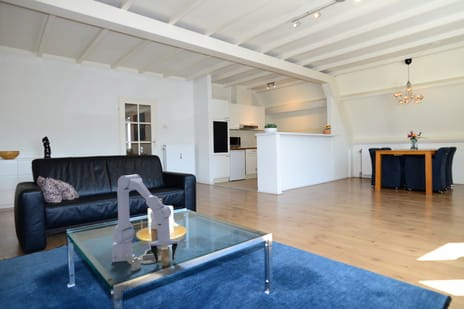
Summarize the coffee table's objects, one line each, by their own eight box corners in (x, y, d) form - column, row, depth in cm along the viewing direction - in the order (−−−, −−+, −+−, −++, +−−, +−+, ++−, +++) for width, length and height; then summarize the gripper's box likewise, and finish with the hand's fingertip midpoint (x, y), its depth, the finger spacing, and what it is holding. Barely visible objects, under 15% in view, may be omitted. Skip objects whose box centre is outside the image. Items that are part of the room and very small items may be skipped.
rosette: (134, 265, 135) (133, 258, 135) (140, 255, 149) (140, 248, 149) (163, 262, 136) (163, 255, 136) (167, 252, 150) (166, 246, 150)
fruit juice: (148, 249, 158) (145, 200, 158) (161, 244, 166) (158, 197, 166) (159, 251, 153) (156, 200, 153) (172, 246, 161) (169, 198, 161)
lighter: (138, 267, 132) (137, 250, 132) (141, 267, 131) (140, 250, 131) (125, 272, 126) (124, 255, 126) (127, 273, 125) (126, 255, 125)
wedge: (161, 266, 132) (160, 251, 132) (162, 262, 137) (162, 247, 137) (167, 265, 132) (167, 250, 132) (169, 261, 137) (168, 247, 137)
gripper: (146, 235, 130) (148, 265, 130) (178, 233, 131) (179, 261, 131) (149, 231, 137) (150, 259, 137) (179, 229, 138) (180, 256, 138)
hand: (165, 260), depth 134 cm, fingers open, 7 cm apart
